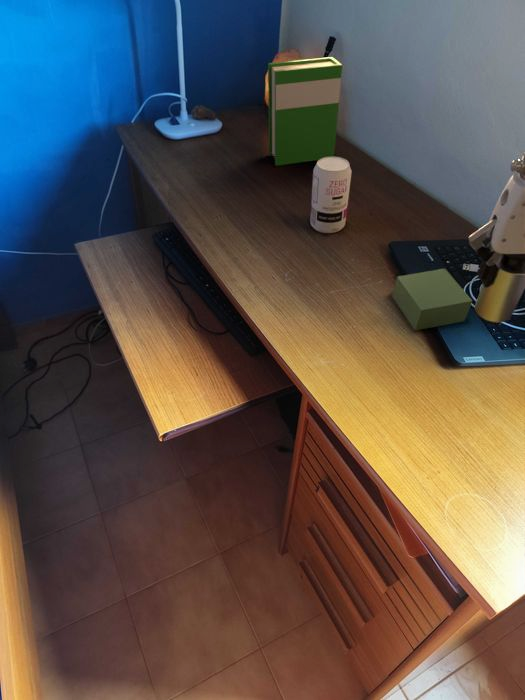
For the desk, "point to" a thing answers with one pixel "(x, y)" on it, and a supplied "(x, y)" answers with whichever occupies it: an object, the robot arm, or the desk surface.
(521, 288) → the flask
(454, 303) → the block
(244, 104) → the desk surface
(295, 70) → the hardback book
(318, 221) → the supplement can
